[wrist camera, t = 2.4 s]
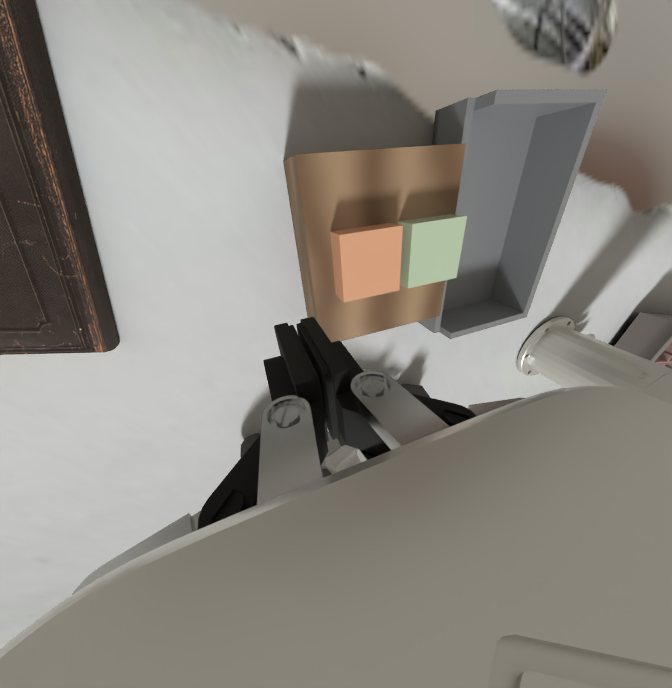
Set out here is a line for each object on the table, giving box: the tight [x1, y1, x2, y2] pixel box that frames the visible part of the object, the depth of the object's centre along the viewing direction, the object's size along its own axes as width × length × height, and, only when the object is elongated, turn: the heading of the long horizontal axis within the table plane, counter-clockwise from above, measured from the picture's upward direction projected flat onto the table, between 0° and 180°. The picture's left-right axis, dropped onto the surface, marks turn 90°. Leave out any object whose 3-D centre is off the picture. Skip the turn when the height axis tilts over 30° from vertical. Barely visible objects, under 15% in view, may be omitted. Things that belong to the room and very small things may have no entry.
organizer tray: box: [615, 312, 672, 369], centre depth 66 cm, size 32×40×10 cm
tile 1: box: [398, 214, 467, 288], centre depth 24 cm, size 6×6×2 cm
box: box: [417, 90, 607, 339], centre depth 29 cm, size 13×22×6 cm, turn 5°
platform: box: [283, 143, 466, 342], centre depth 26 cm, size 15×16×5 cm
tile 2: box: [330, 223, 403, 302], centre depth 22 cm, size 6×6×2 cm
